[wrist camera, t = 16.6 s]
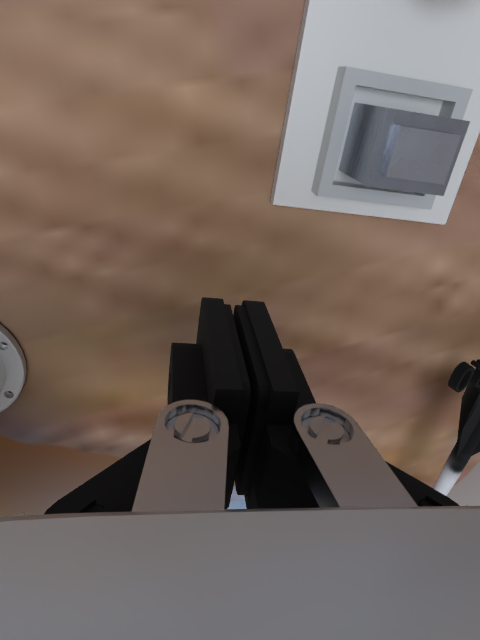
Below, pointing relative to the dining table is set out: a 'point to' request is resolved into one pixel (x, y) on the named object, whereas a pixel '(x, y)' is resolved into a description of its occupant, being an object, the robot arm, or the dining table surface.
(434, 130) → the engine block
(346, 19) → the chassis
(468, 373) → the rocket toy
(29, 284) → the dining table surface
